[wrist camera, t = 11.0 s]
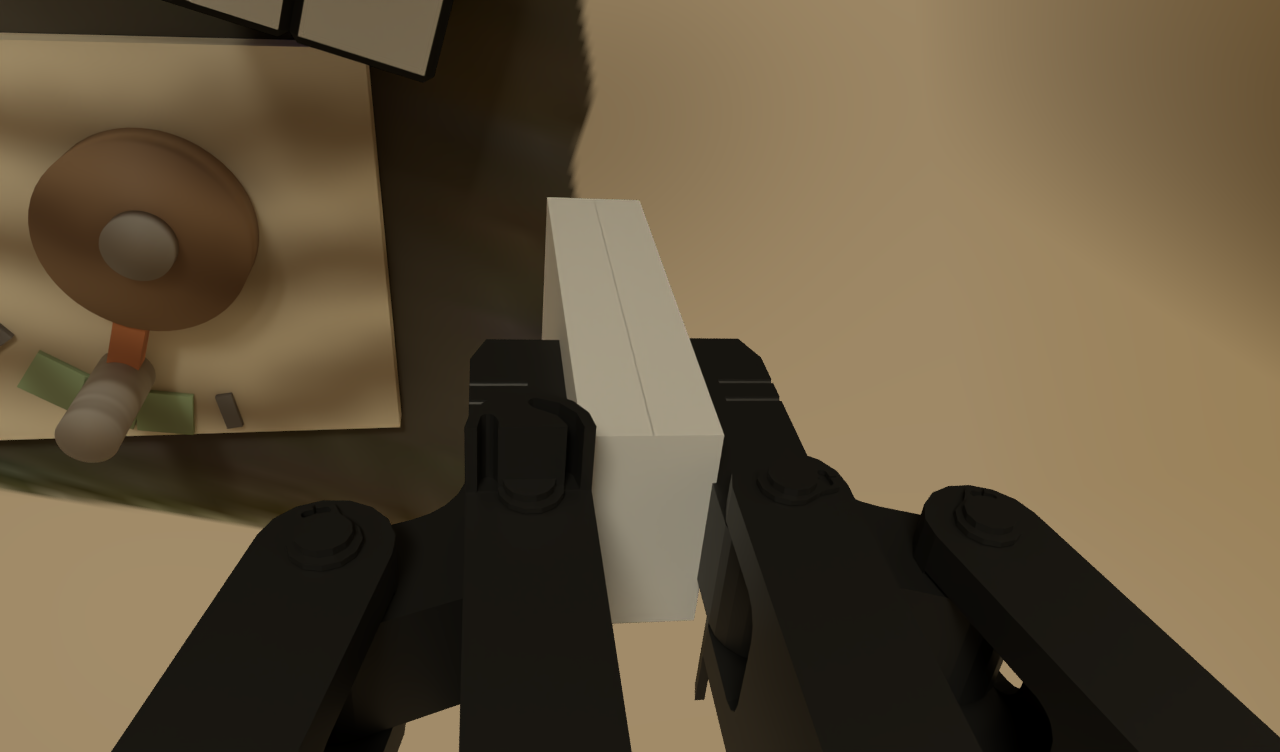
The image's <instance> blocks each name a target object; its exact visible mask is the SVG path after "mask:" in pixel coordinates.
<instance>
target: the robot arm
mask: <svg viewBox="0 0 1280 752" xmlns="http://www.w3.org/2000/svg"><path fill="white" fill-rule="evenodd" d="M464 433H465V484H464V485H463V487H462V489H461V490H460V492H459V493H458V495H457V496H455V497H454V498H453V499H452V500H451V501H450V502H449V503H448V504H446V505H445V506H443V507H441V508H440V509H438V510H436V511H434V512H432V513H430V514H428V515H425V516H422V517H419V518H416V519H413V520H409V521H405V522H401V523H397V524H393V525H391V524H390V522H389V519H388V518H386V517H385V516H383V515H382V514H381V513H379V512H378V511H377V510H375V509H374V508H373V507H370V506H366V505H363V504H359V503H356V502H352V501H319V502H315V503H310V504H306V505H302V506H298V507H295V508H293V509H291V510H289V511H287V512H285V513H283V514H281V515H280V516H278V517H276V518H274V519H273V520H272V521H271V522H270V523H269V524H268V525H267V526H266V527H264V528H263V529H262V530H261V531H260V532H259V533H258V534H257V536H256V537H255V539H254V540H253V542H252V543H251V545H250V546H249V548H248V549H247V551H246V552H245V554H244V555H243V557H242V558H241V560H240V561H239V563H238V564H237V566H236V567H235V568H234V570H233V571H232V573H231V574H230V576H229V577H228V579H227V580H226V582H225V583H224V585H223V586H222V588H221V589H220V591H219V592H218V594H217V595H216V597H215V598H214V600H213V601H212V603H211V604H210V606H209V607H208V609H207V610H206V612H205V613H204V615H203V616H202V617H201V619H200V620H199V622H198V623H197V625H196V626H195V628H194V629H193V631H192V632H191V634H190V635H189V637H188V638H187V640H186V641H185V643H184V644H183V646H182V647H181V649H180V650H179V652H178V653H177V655H176V656H175V658H174V659H173V661H172V662H171V664H170V665H169V667H168V668H167V670H166V671H165V673H164V674H163V676H162V677H161V678H160V680H159V682H158V683H157V684H156V686H155V687H154V689H153V690H152V692H151V694H150V695H149V696H148V698H147V699H146V701H145V703H144V704H143V705H142V707H141V708H140V710H139V711H138V713H137V714H136V716H135V717H134V719H133V720H132V722H131V723H130V725H129V726H128V728H127V729H126V731H125V732H124V734H123V735H122V736H121V738H120V739H119V741H118V742H117V744H116V745H115V747H114V748H113V750H112V751H111V752H398V749H399V746H400V744H401V741H402V738H403V736H404V731H405V724H406V723H407V722H409V721H412V720H415V719H418V718H421V717H424V716H427V715H430V714H433V713H436V712H438V711H441V710H444V709H447V708H450V707H453V706H456V705H459V704H460V736H459V752H631V745H630V738H629V732H628V725H627V719H626V712H625V705H624V699H623V692H622V686H621V679H620V673H619V667H618V660H617V654H616V647H615V640H614V633H613V628H612V624H613V623H637V622H638V623H639V622H662V621H687V620H694V617H695V611H696V604H697V598H698V592H699V588H700V592H701V595H702V600H703V603H704V607H705V611H706V615H707V619H706V624H705V630H704V636H703V642H702V648H701V653H700V659H699V665H698V671H697V676H696V682H695V700H704V698H705V692H706V687H707V681H708V679H709V683H710V687H711V691H712V695H713V699H714V704H715V707H716V712H717V716H718V720H719V724H720V728H721V732H722V736H723V741H724V744H725V749H726V752H1280V737H1279V736H1278V735H1276V733H1274V732H1273V731H1272V730H1271V729H1270V728H1269V727H1268V726H1267V725H1266V724H1265V723H1263V722H1262V721H1261V720H1260V719H1259V718H1258V717H1257V716H1256V715H1255V714H1253V713H1252V712H1251V711H1250V710H1249V709H1248V708H1247V707H1246V706H1245V705H1244V704H1243V703H1242V702H1240V701H1239V700H1238V699H1237V698H1236V697H1235V696H1234V695H1233V694H1232V693H1231V692H1230V691H1229V690H1227V689H1226V688H1225V687H1224V686H1223V685H1222V684H1221V683H1220V682H1219V681H1218V680H1216V679H1215V678H1214V677H1213V676H1212V675H1211V674H1210V673H1209V672H1208V671H1207V670H1206V669H1204V668H1203V667H1202V666H1201V665H1200V664H1199V663H1198V662H1197V661H1196V660H1195V659H1194V658H1193V657H1191V656H1190V655H1189V654H1188V653H1187V652H1186V651H1185V650H1184V649H1182V648H1181V646H1179V645H1178V644H1177V643H1176V642H1175V641H1174V640H1173V639H1172V638H1171V637H1169V635H1167V634H1166V633H1165V632H1164V631H1163V630H1162V629H1161V628H1160V627H1159V626H1158V625H1156V624H1155V623H1154V622H1153V621H1152V620H1151V619H1150V618H1149V617H1148V616H1147V615H1146V614H1144V613H1143V612H1142V611H1141V610H1140V609H1139V608H1138V607H1137V606H1136V605H1135V604H1134V603H1132V602H1131V601H1130V600H1129V599H1128V598H1127V597H1126V596H1125V595H1124V594H1123V593H1121V592H1120V591H1119V590H1118V589H1117V588H1116V587H1115V586H1114V585H1113V584H1112V583H1111V582H1110V581H1108V580H1107V579H1106V578H1105V577H1104V576H1103V575H1102V574H1101V573H1100V572H1099V571H1097V570H1096V569H1095V568H1094V567H1093V566H1092V565H1091V564H1090V563H1089V562H1087V560H1085V559H1084V558H1083V557H1082V556H1081V555H1080V554H1079V553H1078V552H1077V551H1076V550H1075V549H1073V548H1072V547H1071V546H1070V545H1069V544H1068V543H1067V542H1066V541H1065V540H1064V539H1063V538H1061V537H1060V536H1059V535H1058V534H1057V533H1056V532H1055V531H1054V530H1053V529H1052V528H1051V527H1049V526H1048V525H1047V524H1046V523H1045V522H1044V521H1043V520H1042V519H1040V517H1038V516H1037V515H1036V514H1035V513H1034V512H1033V511H1031V510H1030V509H1028V508H1027V507H1025V506H1024V505H1023V504H1021V503H1020V502H1018V501H1017V500H1016V499H1013V498H1011V497H1008V496H1006V495H1004V494H1001V493H999V492H997V491H994V490H991V489H986V488H980V487H976V486H971V485H964V486H948V487H945V488H943V489H940V490H938V491H936V492H933V493H932V494H931V496H930V497H929V499H928V500H927V501H926V502H925V504H924V507H923V510H922V513H921V515H919V514H914V513H909V512H904V511H898V510H894V509H888V508H884V507H879V506H875V505H872V504H868V503H864V502H861V501H858V500H856V499H855V498H854V496H853V494H852V492H851V490H850V488H849V486H848V485H847V483H846V482H845V481H844V480H843V478H842V477H841V476H840V475H839V473H838V472H837V471H836V470H834V469H833V468H831V467H830V466H828V465H826V464H825V463H823V462H822V461H820V460H818V459H815V458H812V457H809V456H807V454H806V452H805V450H804V448H803V446H802V444H801V441H800V439H799V437H798V435H797V433H796V431H795V429H794V426H793V424H792V422H791V420H790V418H789V416H788V414H787V412H786V410H785V407H784V405H783V403H782V401H779V395H778V393H777V390H776V388H775V387H774V384H773V383H771V378H770V376H769V374H768V371H767V370H766V367H765V365H764V363H763V361H762V359H761V357H760V356H758V355H757V354H756V353H755V352H753V351H752V350H751V349H750V348H749V347H747V346H746V345H745V344H744V343H742V342H741V341H740V340H739V339H700V338H699V339H698V338H697V339H695V338H694V339H693V338H689V337H688V333H687V331H686V328H685V325H684V322H683V320H682V317H681V314H680V311H679V309H678V306H677V303H676V300H675V297H674V295H673V292H672V290H671V286H670V284H669V281H668V278H667V275H666V272H665V270H664V267H663V264H662V261H661V259H660V256H659V253H658V250H657V248H656V245H655V242H654V239H653V236H652V234H651V231H650V228H649V225H648V223H647V220H646V217H645V215H644V211H643V209H642V206H641V203H640V200H618V199H584V198H555V197H547V217H546V243H545V270H544V296H543V323H542V340H496V339H486V340H485V342H484V343H483V344H482V345H481V346H480V348H479V349H478V350H477V351H476V353H475V354H474V355H473V356H472V358H471V359H470V388H469V417H468V420H467V422H466V425H465V428H464ZM1003 660H1004V661H1005V662H1006V663H1007V664H1008V665H1009V667H1010V668H1011V669H1012V670H1013V671H1014V672H1015V673H1016V675H1017V676H1018V677H1019V678H1020V679H1021V680H1022V681H1023V683H1022V686H1021V688H1020V689H1019V688H1017V687H1014V686H1013V685H1012V684H1011V683H1010V682H1009V681H1007V680H1006V678H1005V677H1004V676H1003V675H1002V674H1001V673H1000V671H999V669H1000V667H1001V664H1002V662H1003Z"/></svg>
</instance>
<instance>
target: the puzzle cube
mask: <svg viewBox="0 0 1280 752" xmlns="http://www.w3.org/2000/svg"><path fill="white" fill-rule="evenodd" d="M163 1H166V2H169V3H172V4H176V5H179V6H182V7H185V8H188V9H191V10H195V11H198V12H201V13H204V14H207V15H210V16H214V17H217V18H220V19H223V20H226V21H229V22H233V23H236V24H239V25H242V26H245V27H248V28H252V29H255V30H258V31H261V32H264V33H267V34H271V35H274V36H277V37H279V36H280V35H282V34H284V33H286V32H288V31H290V33H291V34H292V36H293V37H294V39H295V40H296V42H297V43H299V44H302V45H306V46H309V47H312V48H315V49H318V50H321V51H325V52H328V53H331V54H334V55H337V56H340V57H344V58H347V59H350V60H353V61H356V62H359V63H363V64H366V65H369V66H372V67H375V68H379V69H382V70H385V71H388V72H391V73H394V74H398V75H401V76H404V77H407V78H410V79H413V80H417V81H420V82H425V81H427V80H429V79H431V78H433V77H434V75H435V71H436V67H437V63H438V59H439V55H440V51H441V47H442V43H443V39H444V35H445V32H446V28H447V24H448V20H449V16H450V12H451V8H452V4H453V0H163Z"/></svg>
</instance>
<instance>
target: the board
mask: <svg viewBox="0 0 1280 752" xmlns="http://www.w3.org/2000/svg"><path fill="white" fill-rule="evenodd" d="M118 128H146V129H153V130H159V131H162V132H166V133H170V134H173V135H176V136H178V137H181V138H184V139H186V140H188V141H190V142H192V143H194V144H196V145H198V146H200V147H201V148H203V149H204V150H206V151H207V152H209V153H211V154H212V155H213V156H214V157H216V158H217V159H218V160H219V161H221V162H222V163H223V164H224V165H225V166H226V167H227V168H228V169H229V170H230V171H231V172H232V173H233V174H234V176H235V177H236V178H237V179H238V181H239V182H240V183H241V184H242V186H243V188H244V189H245V191H246V193H247V194H248V196H249V198H250V200H251V202H252V205H253V207H254V210H255V213H256V217H257V221H258V227H259V247H258V253H257V257H256V260H255V263H254V265H253V267H252V270H251V272H250V274H249V276H248V278H247V280H246V282H245V284H244V286H243V288H242V290H241V292H240V294H239V295H238V297H237V298H236V299H235V301H234V302H233V303H232V304H231V305H230V306H229V307H228V308H227V309H226V310H225V311H223V312H222V313H221V314H219V315H218V316H217V317H215V318H213V319H211V320H209V321H207V322H205V323H202V324H200V325H197V326H194V327H190V328H186V329H182V330H173V331H150V332H149V338H148V343H147V349H146V354H145V358H147V359H148V360H149V361H150V363H151V364H152V365H153V367H154V369H155V373H156V379H155V382H154V384H153V386H152V388H151V390H150V392H149V394H148V395H147V397H146V399H145V401H144V403H143V405H142V407H141V408H140V410H139V412H138V414H137V416H136V418H135V420H134V421H133V423H132V425H131V427H130V429H129V431H128V432H127V434H126V436H145V435H176V434H186V435H194V434H207V433H237V432H268V431H299V430H330V429H360V428H391V427H400V424H401V416H402V413H401V403H400V392H399V381H398V370H397V360H396V349H395V338H394V327H393V317H392V306H391V295H390V284H389V274H388V263H387V252H386V241H385V231H384V220H383V209H382V199H381V188H380V177H379V166H378V156H377V145H376V134H375V123H374V113H373V102H372V91H371V80H370V70H369V65H366V64H363V63H359V62H356V61H353V60H350V59H347V58H344V57H340V56H337V55H334V54H331V53H328V52H325V51H321V50H318V49H315V48H312V47H309V46H306V45H302V44H299V43H297V42H296V40H277V39H237V38H197V37H157V36H117V35H77V34H37V33H0V440H22V439H53V438H55V429H56V427H57V425H58V424H59V422H60V420H61V419H62V417H63V416H64V414H65V413H66V411H67V410H68V408H69V407H70V405H71V404H72V402H73V401H74V399H75V397H76V396H77V394H78V393H79V391H80V390H81V388H82V387H83V385H84V384H85V382H86V381H87V379H88V378H89V376H90V374H91V373H92V371H93V370H94V368H95V367H96V365H97V364H98V362H99V361H100V359H101V358H102V357H103V356H104V355H105V354H106V353H108V349H109V343H110V336H111V330H112V324H113V322H111V321H109V320H106V319H104V318H102V317H100V316H98V315H96V314H94V313H92V312H90V311H88V310H87V309H85V308H84V307H82V306H81V305H79V304H78V303H76V302H75V301H74V300H73V299H71V298H70V297H69V296H68V295H66V294H65V293H64V292H63V291H62V290H61V289H60V288H59V287H58V286H57V285H56V284H55V283H54V281H53V280H52V279H51V277H50V276H49V275H48V274H47V272H46V271H45V269H44V268H43V266H42V264H41V263H40V261H39V259H38V257H37V255H36V252H35V250H34V248H33V245H32V241H31V238H30V233H29V226H28V209H29V204H30V199H31V196H32V193H33V191H34V188H35V186H36V184H37V183H38V181H39V179H40V178H41V176H42V175H43V174H44V173H45V172H46V170H47V169H48V168H49V167H50V166H51V165H52V164H53V163H54V162H56V161H57V160H58V159H59V158H60V157H61V156H62V155H63V154H64V153H65V152H67V151H68V150H69V149H70V148H71V147H73V146H74V145H75V144H76V143H78V142H80V141H81V140H83V139H85V138H87V137H89V136H91V135H94V134H96V133H99V132H103V131H107V130H111V129H118Z"/></svg>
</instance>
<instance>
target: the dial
mask: <svg viewBox="0 0 1280 752" xmlns="http://www.w3.org/2000/svg"><path fill="white" fill-rule="evenodd" d="M28 226H29V233H30V238H31V241H32V245H33V248H34V250H35V252H36V255H37V257H38V259H39V261H40V263H41V264H42V266H43V268H44V269H45V271H46V272H47V274H48V275H49V276H50V277H51V279H52V280H53V281H54V283H55V284H56V285H57V286H58V287H59V288H60V289H61V290H62V291H63V292H64V293H65V294H66V295H68V296H69V297H70V298H71V299H73V300H74V301H75V302H76V303H78V304H79V305H81V306H82V307H84V308H85V309H87V310H88V311H90V312H92V313H94V314H96V315H98V316H100V317H102V318H104V319H106V320H109V321H111V322H113V324H112V330H111V336H110V343H109V349H108V353H106V354H105V355H104V356H103V357H102V358H101V359H100V361H99V362H98V364H97V365H96V367H95V368H94V370H93V371H92V373H91V374H90V376H89V378H88V379H87V381H86V382H85V384H84V385H83V387H82V388H81V390H80V391H79V393H78V394H77V396H76V397H75V399H74V401H73V402H72V404H71V405H70V407H69V408H68V410H67V411H66V413H65V414H64V416H63V417H62V419H61V420H60V422H59V424H58V425H57V427H56V429H55V440H56V443H57V445H58V446H59V448H60V449H61V450H62V451H63V452H64V453H66V454H67V455H68V456H70V457H72V458H74V459H76V460H79V461H83V462H88V463H97V462H103V461H106V460H108V459H110V458H112V457H113V456H114V455H115V454H116V453H117V451H118V449H119V447H120V445H121V444H122V442H123V440H124V438H125V436H126V434H127V432H128V431H129V429H130V427H131V425H132V423H133V421H134V420H135V418H136V416H137V414H138V412H139V410H140V408H141V407H142V405H143V403H144V401H145V399H146V397H147V395H148V394H149V392H150V390H151V388H152V386H153V384H154V382H155V379H156V373H155V369H154V367H153V365H152V364H151V363H150V361H149V360H148V359H147V358H145V354H146V349H147V343H148V338H149V332H150V331H173V330H182V329H186V328H190V327H194V326H197V325H200V324H202V323H205V322H207V321H209V320H211V319H213V318H215V317H217V316H218V315H219V314H221V313H222V312H223V311H225V310H226V309H227V308H228V307H229V306H230V305H231V304H232V303H233V302H234V301H235V299H236V298H237V297H238V295H239V294H240V292H241V290H242V288H243V286H244V284H245V282H246V280H247V278H248V276H249V274H250V272H251V270H252V267H253V265H254V263H255V260H256V257H257V253H258V247H259V227H258V221H257V217H256V213H255V210H254V207H253V205H252V202H251V200H250V198H249V196H248V194H247V193H246V191H245V189H244V188H243V186H242V184H241V183H240V182H239V181H238V179H237V178H236V177H235V176H234V174H233V173H232V172H231V171H230V170H229V169H228V168H227V167H226V166H225V165H224V164H223V163H222V162H221V161H219V160H218V159H217V158H216V157H214V156H213V155H212V154H211V153H209V152H207V151H206V150H204V149H203V148H201V147H200V146H198V145H196V144H194V143H192V142H190V141H188V140H186V139H184V138H181V137H178V136H176V135H173V134H170V133H166V132H162V131H159V130H153V129H146V128H118V129H111V130H107V131H103V132H99V133H96V134H94V135H91V136H89V137H87V138H85V139H83V140H81V141H80V142H78V143H76V144H75V145H74V146H73V147H71V148H70V149H69V150H68V151H67V152H65V153H64V154H63V155H62V156H61V157H60V158H59V159H58V160H57V161H56V162H54V163H53V164H52V165H51V166H50V167H49V168H48V169H47V170H46V172H45V173H44V174H43V175H42V176H41V178H40V179H39V181H38V183H37V184H36V186H35V188H34V191H33V193H32V196H31V199H30V204H29V209H28Z"/></svg>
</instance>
